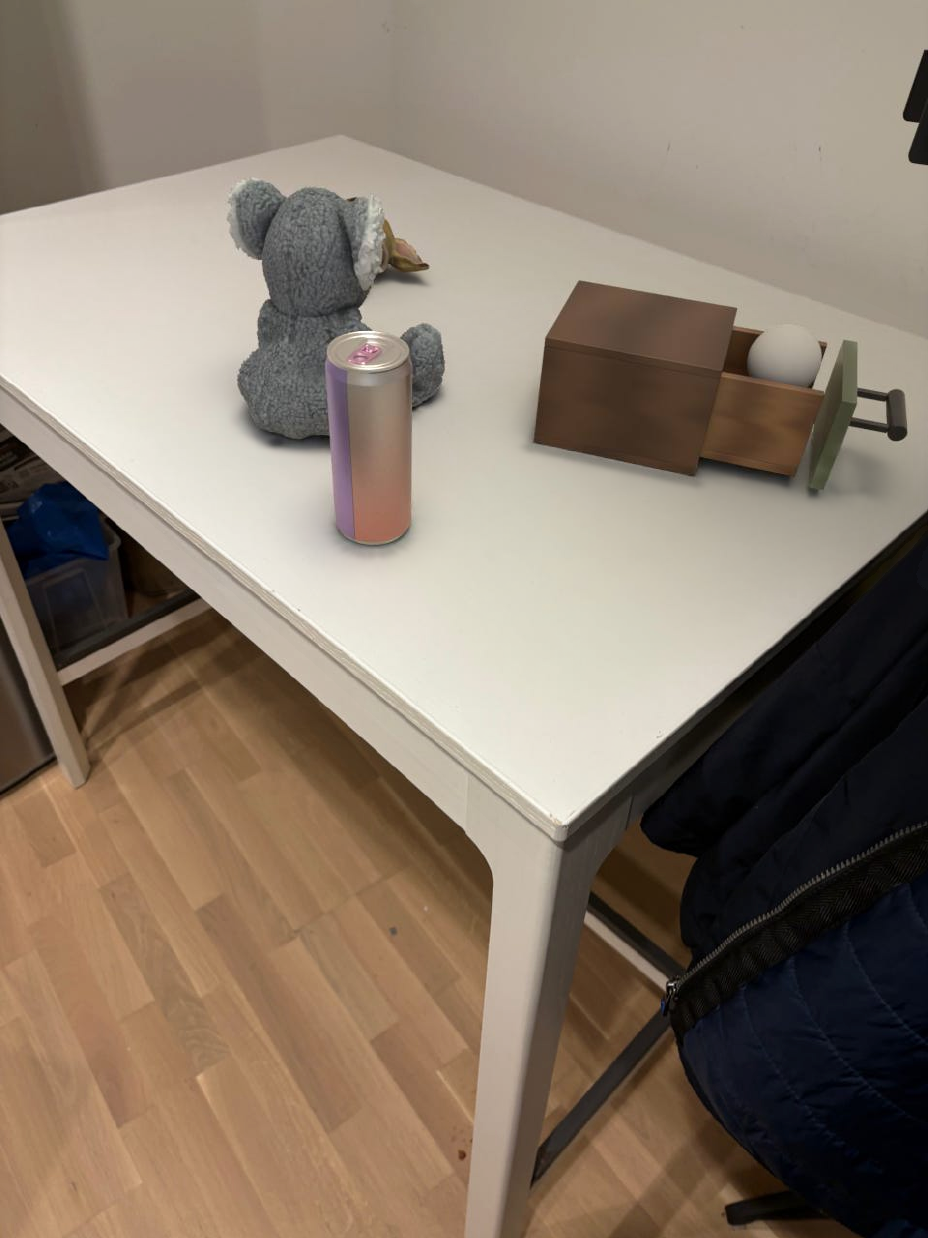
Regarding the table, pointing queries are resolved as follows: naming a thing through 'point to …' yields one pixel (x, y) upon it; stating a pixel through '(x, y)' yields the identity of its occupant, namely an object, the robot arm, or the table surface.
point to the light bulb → (785, 356)
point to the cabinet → (632, 375)
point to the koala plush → (312, 299)
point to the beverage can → (370, 434)
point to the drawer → (790, 414)
